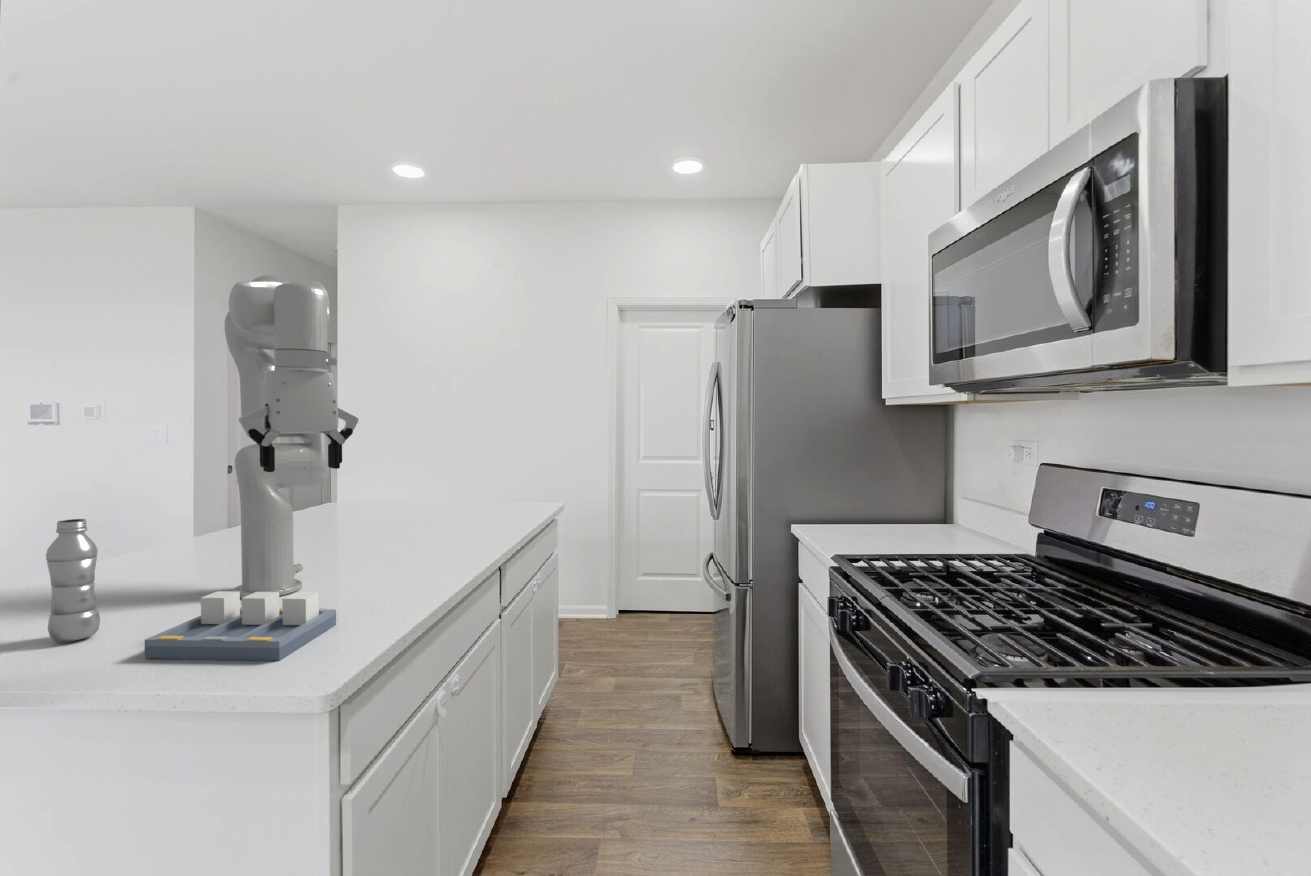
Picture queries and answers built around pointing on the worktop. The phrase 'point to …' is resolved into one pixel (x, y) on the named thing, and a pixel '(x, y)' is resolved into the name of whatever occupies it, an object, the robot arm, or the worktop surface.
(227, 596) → the tab
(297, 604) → the tab
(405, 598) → the worktop surface
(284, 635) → the switch bank
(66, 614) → the plastic bottle
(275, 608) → the tab
